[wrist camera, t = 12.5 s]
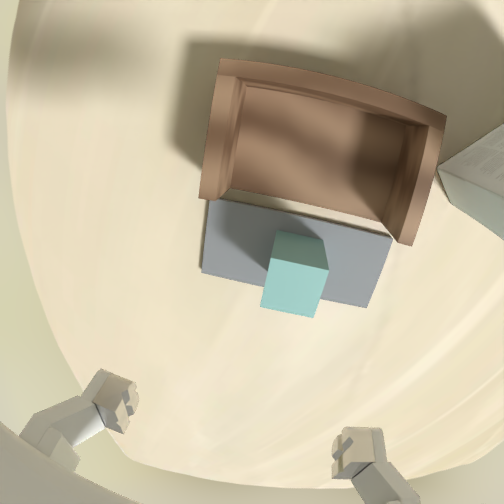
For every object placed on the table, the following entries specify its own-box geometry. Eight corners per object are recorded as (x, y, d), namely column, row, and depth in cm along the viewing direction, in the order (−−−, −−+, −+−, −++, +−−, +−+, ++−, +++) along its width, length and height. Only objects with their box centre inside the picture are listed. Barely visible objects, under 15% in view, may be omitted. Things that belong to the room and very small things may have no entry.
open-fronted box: (236, 72, 25) (220, 58, 19) (418, 116, 24) (446, 115, 18) (217, 184, 30) (198, 198, 24) (391, 223, 29) (411, 246, 23)
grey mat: (211, 196, 31) (210, 198, 30) (391, 237, 30) (392, 239, 29) (202, 270, 35) (201, 272, 34) (365, 305, 33) (366, 308, 33)
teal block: (276, 229, 31) (270, 257, 24) (323, 240, 30) (329, 270, 24) (267, 271, 33) (259, 306, 26) (311, 281, 32) (313, 317, 26)
